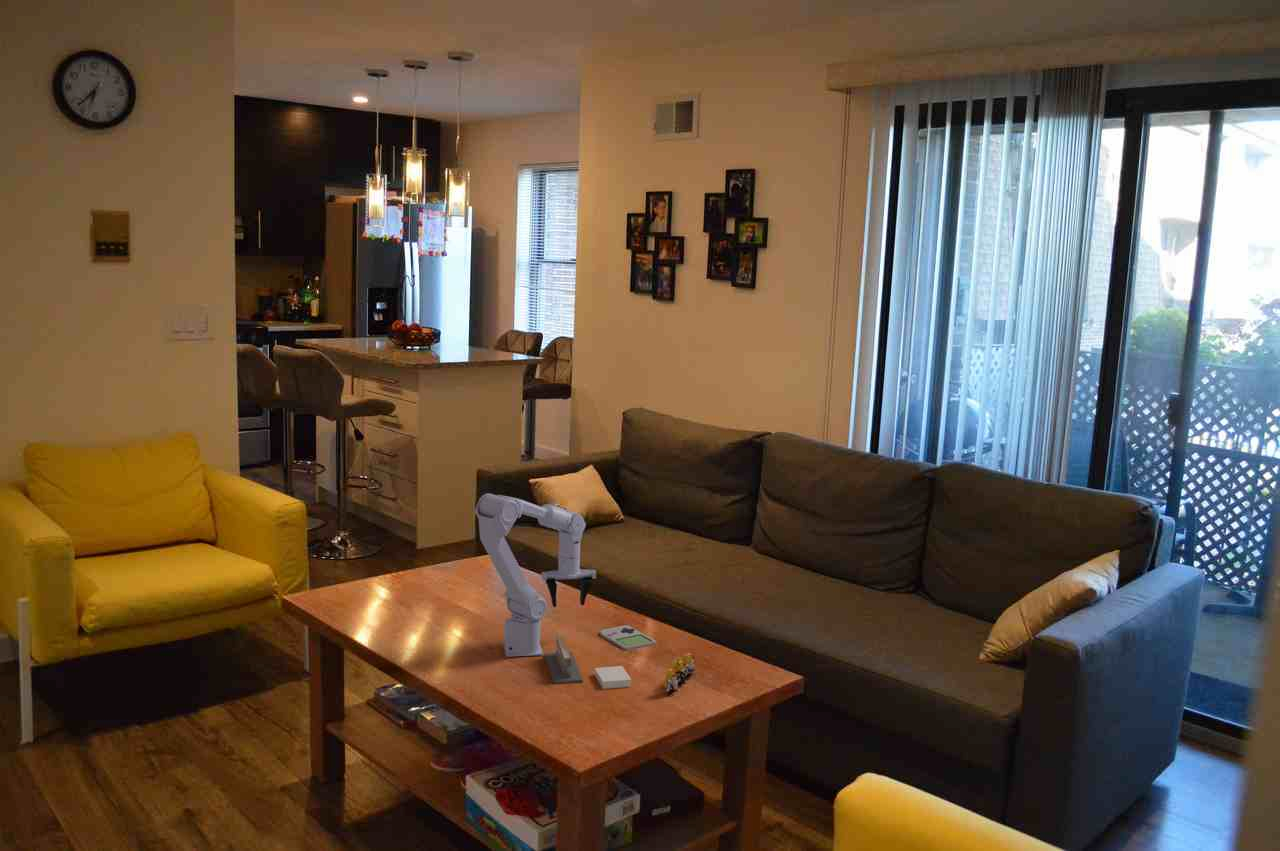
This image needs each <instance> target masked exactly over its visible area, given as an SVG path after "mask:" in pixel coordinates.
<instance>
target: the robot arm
mask: <svg viewBox="0 0 1280 851" xmlns="http://www.w3.org/2000/svg"><path fill="white" fill-rule="evenodd" d="M474 513H475V515H476V517H477V519H478V527H479V539H480V542H481V544H482V545H483V547H484V550H485V552H486V553H487V555H488V556H489V559H490V560H491V562H492V564H493V566H494V568H495V570H496V571H497V574H498V575H499V577H500V579H501V581H502V582H503V585H504V586H505V588H506V591H505V592H504V595H503V596H504V597H505V600H506V607H507V610H508V611H509V612H510V618H504V621H503V622H504V623H503V640H502V644H503V645H502V646H503V650H504V653H505V656H506V657H508V658H509V657H530V656H543V655H544V653H543V649H542V646H541V621H542V620H543V617H544V616H545V614H546V613H547V610H548V609H547V608H548V605H547V604H548V603H547V600H546V599H545V598H544V597H542V596H541V595H540V594H539V592H538V591H537V590H536V589H535V588H534V587H532V585H531V584H529V583H528V581H527V579H526V577H525V575H524V573H523V571H522V569H521V567H520V565H519V564H518V561H517V560H516V558H515V556H514V554H513V551H512V550H511V548H510V546H509V544H508V542H507V540H506V538H505V537H506V536H508V534H509V532H510V531H511V529H512V527H513V525H514V523H515V522H516V521H517V519H520V518H521V517H522V515H524V516H528V517H531V518H535V519H537V522H538V523H539V525H540V526H544V527H546V528H550V529H553V530H556V531H558V560H557V561H558V565H557V566H558V567H557V568H558V569H556V570H549V571H542V572H541V578H540V579H541V581H542V582H545V584H546V586H547V588H548V591H549V596H550V599H551V604H552V607H553V608H556V607H557V587H558V584H557V580H575V579H576V580H577V579H579V582H580V594H579V595H580V596H579V602H580V605H581V606H584V605H585V603H586V598H587V596H588V593H589V591H590V590H591V587H592V585H593V582H594V580H593V579H597V571H596V570H595V569H583V568H581V567H580V565H581V563H580V562H581V540H582V538H583V532H584V531H585V529H586V524H587V522H585V519H584V517H583V516H582V515H581V514H579V513H577V512H573V511H570V509H569V508H566V507H564V508H561V507H558V504H557V503H554V502H550V503H549V504H548V503H546V504H543V505H542V506H540V505H538V504H535V503H532V502H529V501H526V500H523V499H521V498H516V497H512V496H508V495H501V494H493V493H490V492H489V493H485V494H483V495H482V496H480V498H479V499H478V502H477V504H476V507H475V510H474Z"/></svg>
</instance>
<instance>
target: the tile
mask: <svg viewBox="0 0 1280 851" xmlns="http://www.w3.org/2000/svg"><path fill="white" fill-rule="evenodd" d="M594 676H595V678H596V679H597V682H598V683H599V685H600V687H601V688H602V689H603V690H605V689H606V690H607V689H617V688H618V689H619V688H631V687H632V678H631V677H630V675H629V674H628V672H627V671H626V668H624V666H623V665H619V666H618V665H616V666H603V667H595V668H594Z"/></svg>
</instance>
